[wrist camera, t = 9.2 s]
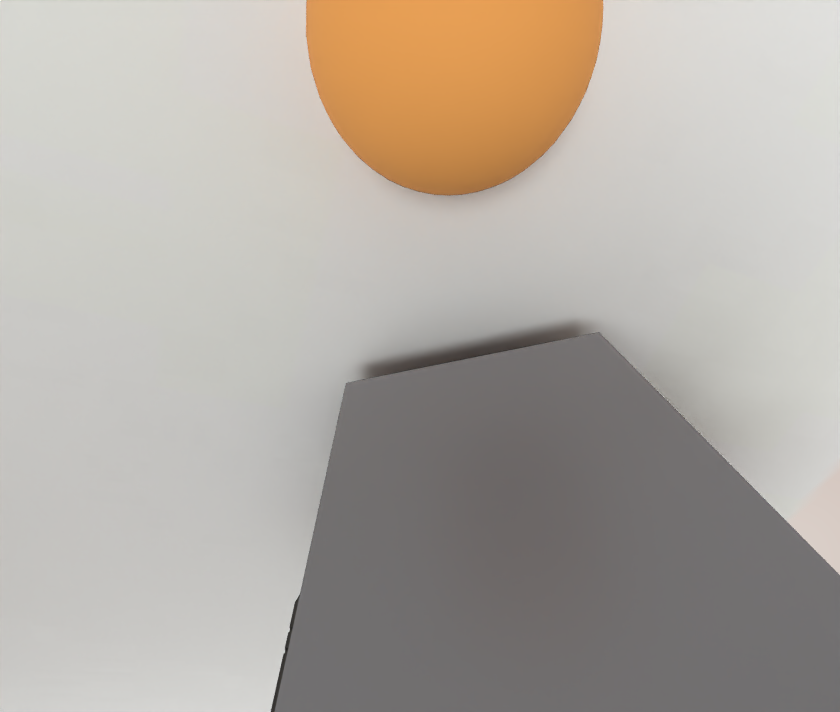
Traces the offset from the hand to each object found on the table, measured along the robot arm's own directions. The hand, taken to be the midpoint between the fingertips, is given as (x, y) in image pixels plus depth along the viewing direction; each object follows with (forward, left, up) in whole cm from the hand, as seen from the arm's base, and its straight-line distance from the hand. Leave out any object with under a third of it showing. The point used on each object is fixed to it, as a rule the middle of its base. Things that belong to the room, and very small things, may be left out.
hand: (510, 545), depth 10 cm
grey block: (0, 0, -3) cm, 3 cm away
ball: (+1, +10, -2) cm, 10 cm away
